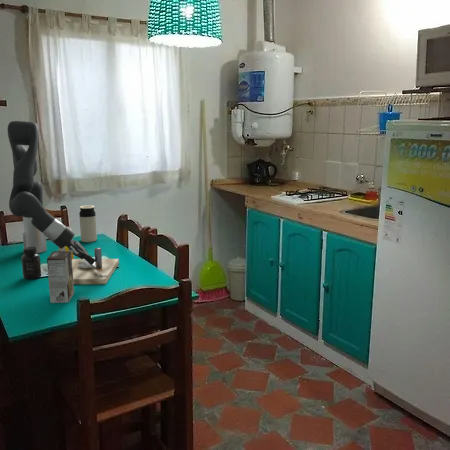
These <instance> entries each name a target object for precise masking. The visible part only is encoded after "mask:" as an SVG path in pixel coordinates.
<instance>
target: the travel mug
mask: <svg viewBox="0 0 450 450" xmlns="http://www.w3.org/2000/svg"><path fill="white" fill-rule="evenodd" d="M79 210H80V211H79V213H78V215H79V228H80V230H79V231H80V241H81V242H83V243H93V242H96V241H97V239H98V236H97V234H98V233H97V216H96V211H95V205H92V204H91V205H81V206H79Z"/></svg>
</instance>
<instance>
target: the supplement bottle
mask: <svg viewBox="0 0 450 450" xmlns="http://www.w3.org/2000/svg"><path fill="white" fill-rule="evenodd" d="M22 251H23V255H21V258H20V259H21V270H22V277H23V279H25V280H30V281H31V280H36V279H39V278H41V277H42V265H41V257H40V253H36V252H37V250H36V247H26V248H24V247H23V249H22Z"/></svg>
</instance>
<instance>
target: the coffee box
mask: <svg viewBox="0 0 450 450" xmlns="http://www.w3.org/2000/svg"><path fill="white" fill-rule="evenodd" d="M46 263H47V276H48V277H47V278H48V288H49V289H48V290H49V300H50V303H51V304H60V303H61V304H63V303H64V304H65V303H66V304H67V303H70V301H71V299H72V298H73V296H74V294H75V286H74V285H75V284H74V283H73V269H72V257H71V251H59V250H54V251H52V252H51V253H50V255H48V257H47V258H46Z"/></svg>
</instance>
